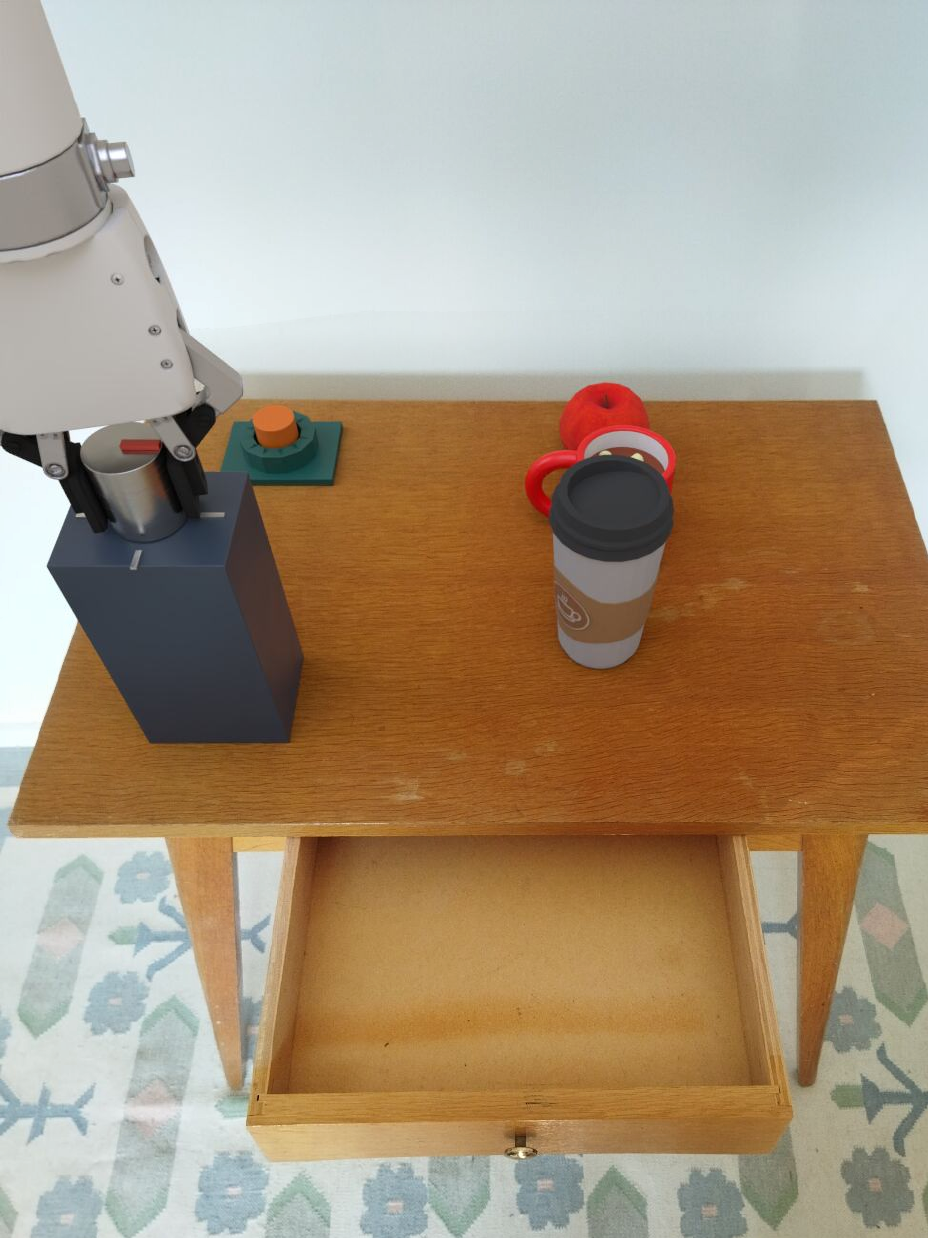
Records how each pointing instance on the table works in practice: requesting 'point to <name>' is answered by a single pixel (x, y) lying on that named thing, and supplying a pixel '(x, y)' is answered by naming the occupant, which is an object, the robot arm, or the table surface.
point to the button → (275, 426)
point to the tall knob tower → (190, 620)
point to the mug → (603, 442)
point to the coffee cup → (607, 555)
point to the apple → (600, 412)
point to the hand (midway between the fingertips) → (147, 507)
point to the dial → (133, 481)
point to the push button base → (286, 454)
